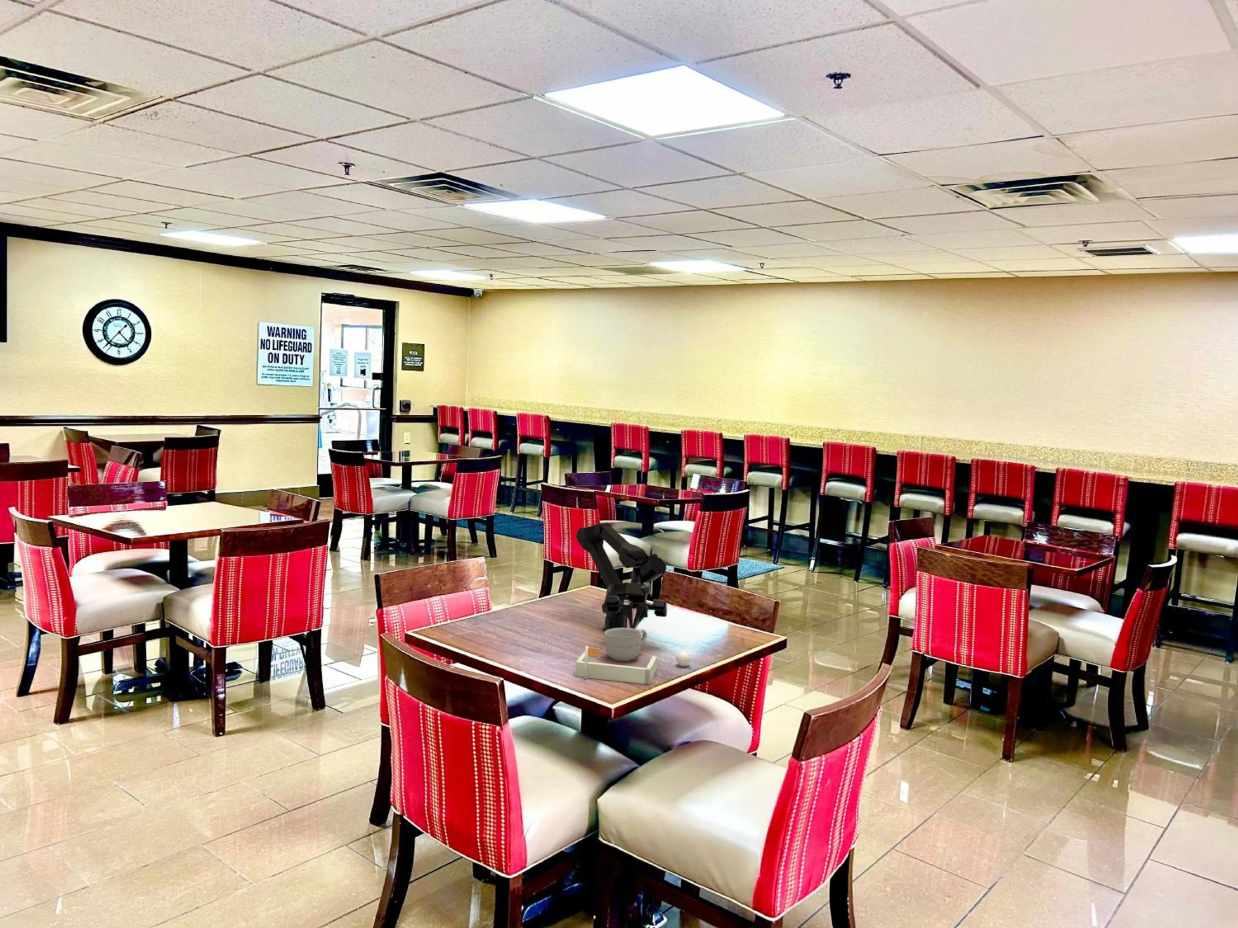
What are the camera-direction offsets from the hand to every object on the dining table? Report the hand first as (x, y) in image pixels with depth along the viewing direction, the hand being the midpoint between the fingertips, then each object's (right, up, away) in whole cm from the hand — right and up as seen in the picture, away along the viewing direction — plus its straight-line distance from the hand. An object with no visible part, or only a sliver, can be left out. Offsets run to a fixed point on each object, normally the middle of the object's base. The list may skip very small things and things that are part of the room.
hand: (631, 630), depth 261 cm
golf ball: (+15, -6, -10) cm, 19 cm away
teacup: (-1, -7, -4) cm, 9 cm away
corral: (-5, -8, -20) cm, 22 cm away
